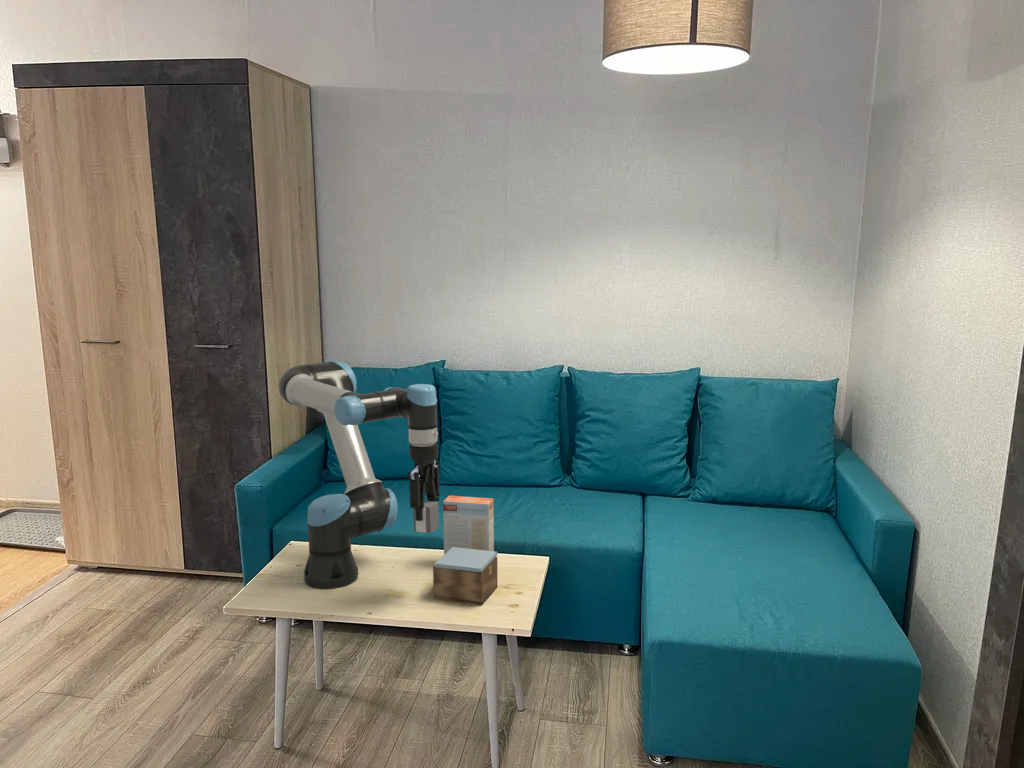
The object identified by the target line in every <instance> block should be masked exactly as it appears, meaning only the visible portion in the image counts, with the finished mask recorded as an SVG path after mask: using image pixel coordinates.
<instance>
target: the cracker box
mask: <svg viewBox="0 0 1024 768" xmlns="http://www.w3.org/2000/svg"><path fill="white" fill-rule="evenodd" d="M442 502H443V505H442V507H443V508H442V509H443V511H442V512H443V514H442V515H443V519H442V520H443V521H442V523H443V555H445V554H446V553H447V552H448V551H449V550H450V549H451V548H452V547H457V548H466V549H476V550H485V551H495V547H494V546H495V534H494V533H495V532H494V531H495V529H494V527H495V526H494V521H495V520H494V516H495V515H494V511H495V509H494V508H495V507H494V498H489V497H476V496H475V497H474V496H462V495H461V496H460V495H448V496H447V497H446V498H445V499H444V500H443V501H442Z"/></svg>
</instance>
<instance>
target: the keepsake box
mask: <svg viewBox="0 0 1024 768" xmlns="http://www.w3.org/2000/svg"><path fill="white" fill-rule="evenodd" d="M432 575H433V577H432V580H433V581H432V582H433V583H432V584H433V592H432V593H433V598H434V599H437V600H438V599H439V600H444V601H451V602H455V603H462V604H469V605H476V606H480V607H482V606H483V605H484V604H485V603H486V601H487V600H488V599H489V598H490V597H491V596H492V595H493V594H494V592H495V591H496V590H497V588H498V556H496V557H495V558H494V559H493V560H492V561H491V562H490V564H489V565H488V566H487V567H486V568H485V569H484V570H483V571H482V572H473V571H465V570H456V569H447V568H439V567H435V565H433V566H432Z"/></svg>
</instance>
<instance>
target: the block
mask: <svg viewBox="0 0 1024 768" xmlns="http://www.w3.org/2000/svg"><path fill="white" fill-rule="evenodd" d="M439 503H440V502H439V501H435V502H431V501H429V500H424V508H426V532H423V533H425V534H432V533H433V532H435V531H436V530H438V529H440V509H439V508H440V507H439ZM412 512H413V513H412V515H413V531H414V533H415V532H417V531H416V515H415V508H412Z"/></svg>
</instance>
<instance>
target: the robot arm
mask: <svg viewBox="0 0 1024 768" xmlns="http://www.w3.org/2000/svg"><path fill="white" fill-rule="evenodd" d="M357 382H358V381H357V378H356V375H355V373H354V371H353V369H352V367H350V365H349V364H347V363H345V362H343V361H327V362H326V361H325V362H319V363H318V362H317V363H310V364H301V365H299V364H298V365H295V366H292V367H291V368H289V369H287V370H285V372H284V373H283V374H282V375H281V377H280V379H279V381H278V392H279V393H278V394H279V395H280V397H281V399H282V400H284V401H285V402H286V403H288V404H289V405H292V406H295V407H297V408H298V407H299V408H300V407H308V408H312V409H314V410H316V411H317V412H319V413H321V414H323V416H324V419H325V424H326V426H327V428H328V432H329V433H328V434H329V435H330V438H331V441H332V443H333V444H332V445H333V448H334V451H335V454H336V456H337V460H338V464H339V466H340V469H341V473H342V476H343V480H344V482H345V484H346V489H345V490H344V494H343V493H334V494H326V495H322V496H320V497H318V498H316V499H314V500H313V501H312V502H310V503H309V506H308V508H307V517H306V518H307V519H306V522H307V532H308V533H307V535H308V551H309V552H308V557H307V560H306V564H305V566H304V567H305V568H304V571H303V582H304V583H305V584H306V585H307V586H309V587H310V588H315V589H324V590H326V589H328V590H329V589H337V588H341V587H345V586H347V585H350V584H352V583H354V582H355V581H357V579H358V578H359V568H358V565H357V563H356V560H355V557H354V555H353V552H352V539H355V538H359V537H361V536H365V535H368V534H372V533H375V532H377V533H378V532H381V531H383V530H385V529H389V528H391V527H392V526H393V525H394V523H395V522H396V520H397V516H398V512H399V511H398V509H399V508H398V500H397V497H396V495H395V493H394V491H392V489H390V488H387V487H386V488H385V487H384V484H383V481H382V480H380V479H377V478H376V477H375V473H374V471H373V467H372V464H371V461H370V458H369V455H368V451H367V450H366V446H365V443H364V440H363V437H362V434H361V431H360V428H359V425H361V424H365V423H371V422H376V421H377V422H378V421H384V420H388V419H395V418H403V419H407V421H408V422H407V423H408V426H407V427H408V443H409V446H408V449H409V450H408V452H409V458H410V459H411V460H412V461H413V463H414V464H413V470H412V471H408V473H407V475H408V481H409V506H410V507H409V508H410V509H413V508H415V515H416V531H417V532H418V533H424V532H426V508H424V501H425V498H426V501H431V502H439V501H440V496H441V492H440V491H441V489H440V487H441V486H440V485H441V484H440V465H441V463H440V462H441V461H439V460H435V459H437V458H438V457H439V445H438V443H437V442H438V436H439V432H438V407H437V406H438V403H437V402H438V399H437V390H436V387H435V386H434V385H432V384H429V383H428V384H427V383H426V384H425V383H416V384H410V385H409V386H408V387H407V388H406V389H405V388H401V387H396V386H395V387H387V388H385V389H383V390H381V391H375V392H368V393H367V392H366V393H358V392H357V387H358V386H357ZM425 496H426V497H425Z"/></svg>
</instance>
